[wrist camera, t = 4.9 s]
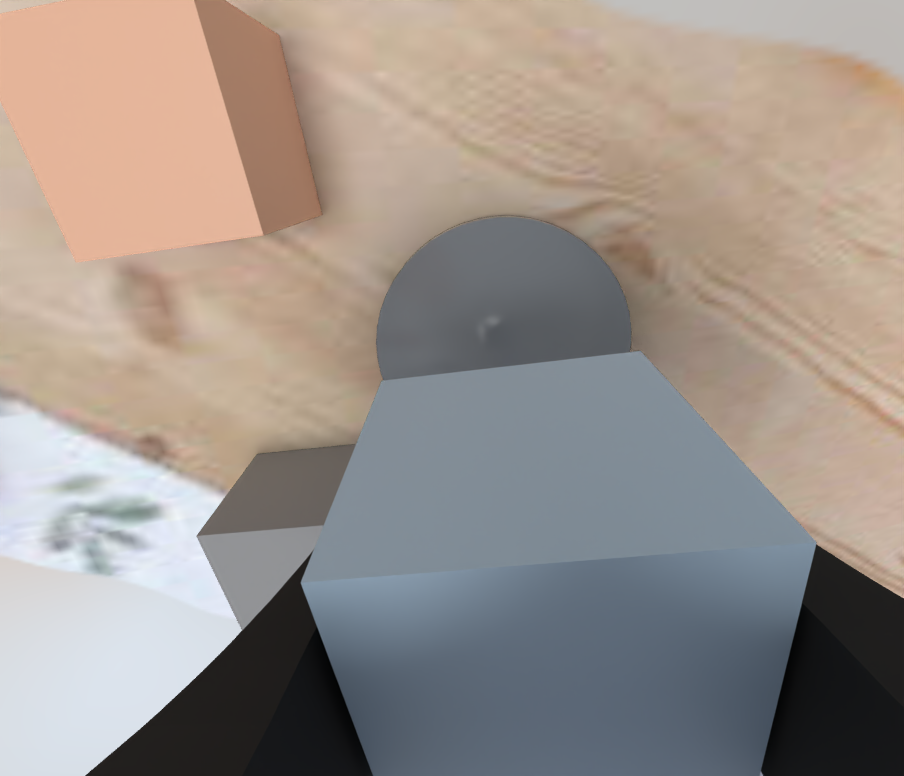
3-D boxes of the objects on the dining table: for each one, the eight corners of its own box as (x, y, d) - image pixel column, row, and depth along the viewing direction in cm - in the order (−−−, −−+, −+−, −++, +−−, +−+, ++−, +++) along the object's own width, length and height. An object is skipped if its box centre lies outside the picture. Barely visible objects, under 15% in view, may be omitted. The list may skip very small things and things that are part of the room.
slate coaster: (676, 290, 16) (685, 295, 16) (543, 477, 20) (545, 489, 19) (443, 164, 15) (442, 165, 14) (346, 390, 19) (340, 399, 18)
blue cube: (640, 350, 9) (816, 542, 4) (634, 550, 11) (749, 818, 7) (381, 380, 9) (300, 582, 5) (422, 567, 11) (392, 829, 7)
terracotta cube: (279, 35, 14) (186, -25, 9) (323, 214, 16) (263, 235, 12) (122, 65, 14) (-37, 21, 10) (184, 234, 16) (76, 262, 12)
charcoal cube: (370, 441, 20) (340, 523, 15) (393, 532, 22) (373, 628, 17) (257, 452, 20) (196, 536, 16) (290, 541, 22) (245, 636, 18)
